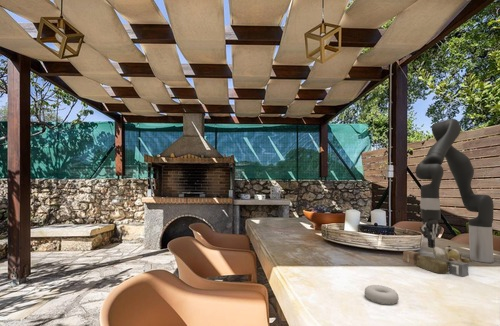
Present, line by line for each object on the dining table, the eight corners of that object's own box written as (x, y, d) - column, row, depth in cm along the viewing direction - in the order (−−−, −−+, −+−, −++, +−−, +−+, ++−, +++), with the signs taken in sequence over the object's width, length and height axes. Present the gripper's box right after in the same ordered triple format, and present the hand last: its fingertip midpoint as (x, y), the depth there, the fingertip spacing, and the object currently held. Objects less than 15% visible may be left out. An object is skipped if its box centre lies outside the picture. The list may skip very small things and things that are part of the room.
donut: (374, 291, 96) (358, 297, 90) (374, 281, 96) (358, 286, 90) (404, 301, 88) (389, 309, 82) (404, 290, 88) (389, 297, 82)
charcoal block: (454, 272, 119) (454, 260, 120) (468, 275, 115) (468, 263, 115) (448, 273, 117) (448, 261, 117) (462, 277, 112) (461, 264, 113)
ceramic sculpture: (437, 241, 142) (473, 248, 130) (436, 257, 142) (472, 267, 130) (428, 243, 136) (466, 251, 124) (428, 261, 136) (465, 271, 124)
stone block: (439, 274, 115) (438, 262, 116) (415, 266, 127) (415, 255, 127) (450, 274, 117) (449, 261, 117) (425, 266, 128) (425, 254, 129)
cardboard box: (409, 260, 136) (409, 250, 136) (420, 263, 132) (419, 252, 132) (403, 261, 134) (403, 251, 134) (413, 264, 129) (413, 253, 130)
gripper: (430, 207, 130) (431, 244, 129) (412, 207, 124) (413, 247, 123) (447, 208, 123) (449, 248, 122) (430, 209, 117) (431, 250, 116)
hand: (431, 247), depth 122 cm, fingers closed
